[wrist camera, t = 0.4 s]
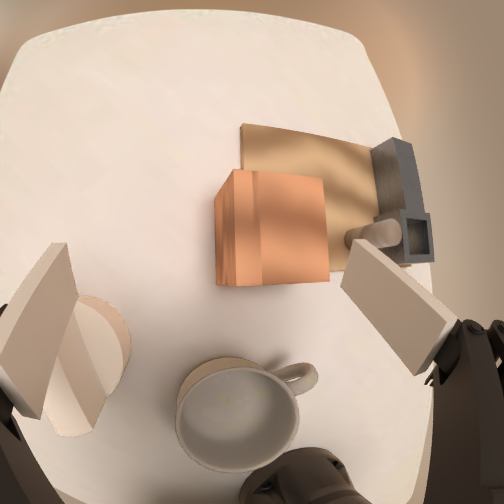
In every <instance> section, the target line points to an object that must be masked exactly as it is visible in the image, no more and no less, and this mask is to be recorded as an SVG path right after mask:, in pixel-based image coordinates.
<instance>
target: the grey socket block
mask: <svg viewBox="0 0 504 504" xmlns="http://www.w3.org/2000/svg"><path fill="white" fill-rule="evenodd" d="M370 155H371V161H372V166H373V172H374V179H375V185H376V192H377V200H378V208H379V215H378V216H375V217H373V219H374V223H376V222H380V221H383V220H387V219H391V218H392V219H395V220H396V221H397V222H398V223H399V225H400V227H401V230H402V238H401V241H400V243H399V244H398V245H395V246H390V247H384V248H378V250H380V251H381V252H382V253H383V254H385V255H386V256H387V257H388V258H390V259H391V260H392V261H393V262H395V263H396V264H397V265H408V264H419V263H429V262H434V248H433V237H432V228H431V219H430V213H425V211H424V204H423V197H422V191H421V186H420V180H419V176H418V171H417V165H416V161H415V156H414V152H413V148H412V144H410V143H407V142H405V141H402V140H400V139H397V138H394V137H392V138H390V139H388V140H387V141H385V142H383V143H382V144H380V145H378V146H376V147H375V148H373V149H371V150H370Z"/></svg>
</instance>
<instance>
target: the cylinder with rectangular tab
mask: <svg viewBox="0 0 504 504" xmlns="http://www.w3.org/2000/svg"><path fill="white" fill-rule="evenodd" d="M130 353H131V338H130V334H129V329H128V327H127V325H126V323H125V321H124V319H123V318H122V316H121V315H120V314H119V313H118V311H117V310H116V309H115V308H114V307H112V306H111V305H110V304H108V303H107V302H105V301H103V300H101V299H98V298H96V297H89V296H83V297H78V300H77V302H76V304H75V307H74V309H73V312H72V315H71V317H70V320H69V322H68V325H67V328H66V331H65V333H64V336H63V339H62V342H61V345H60V348H59V351H58V354H57V357H56V361H55V364H54V367H53V370H52V374H51V378H50V381H49V385H48V389H47V393H46V397H45V401H44V405H43V409H44V411H45V413H46V414H47V416H48V418H49V420H50V422H51V424H52V425H53V427H54V429H55V431H56V432H57V434H58V435H60V436H80V435H83V434H86V433H89V432H91V431H92V430H93V428H94V426H95V424H96V421H97V419H98V416H99V414H100V412H101V410H102V407H103V405H104V403H105V400H106V398H107V396H108V395H110V394H111V393H112V392H113V391H114V390H115V388H116V386H117V385H118V383H119V382H120V379H121V377H122V374H123V372H124V370H125V367H126V365H127V363H128V359H129V356H130Z"/></svg>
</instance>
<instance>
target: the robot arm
mask: <svg viewBox="0 0 504 504" xmlns="http://www.w3.org/2000/svg"><path fill="white" fill-rule="evenodd" d="M340 287H341V288H342V289H343V290H344V291H345V292H346V294H347V295H348V296H349V297H350V298H351V300H352V301H353V302H354V303H355V304H356V305H357V307H358V308H359V309H360V310H361V311H362V313H363V314H364V315H365V316H366V317H367V318H368V320H369V321H370V322H371V323H372V325H373V326H374V327H375V328H376V329H377V331H378V332H379V333H380V334H381V335H382V337H383V338H384V339H385V340H386V342H387V343H388V344H389V345H390V347H391V348H392V349H393V350H394V352H395V353H396V354H397V355H398V357H399V358H400V359H401V360H402V362H403V363H404V364H405V365H406V367H407V368H408V369H409V371H410V372H411V373H412V374H413V376H416V375H418V374H421V373H423V372H425V371H426V370H427V369H428V367H429V366H430V364H431V363H432V361H433V360H434V362H435V363H436V364H437V365H436V366H435V368H434V369H433V371H432V372H431V374H430V375H429V376H428V378H427V379H426V381H425V384H424V385H427V384H428V382H429V381H430V380H431V379H433V381H432V382H431V384H430V386H432V387H433V388H434V409H433V435H432V447H431V457H430V466H429V473H428V480H427V487H426V493H425V498H424V503H423V504H504V322H503V321H500V320H494V321H493V322H492V324H491V326H490V328H489V329H488V330H485V329H484V328H483V327H482V326H481V325H480V324H478V323H477V322H475V321H473V320H468V319H467V320H464V321H463V322H461V321H460V320H459V319H458V318H457V317H456V316H455V315H454V314H453V313H452V312H451V311H450V310H449V309H447V308H446V307H445V306H444V305H443V304H442V303H441V302H440V301H439V300H438V299H437V298H435V297H434V296H433V295H432V294H431V293H430V292H429V291H428V290H426V289H425V288H424V287H423V286H422V285H421V284H420V283H418V282H417V281H416V280H415V279H414V278H413V277H411V276H410V275H409V274H408V273H407V272H405V271H404V270H403V269H402V268H401V267H399V266H398V265H397V264H396V263H395V262H393V261H392V260H391V259H390V258H388V257H387V256H386V255H385V254H383V253H382V252H381V251H380V250H378V249H377V248H376V247H375V246H373V245H372V244H371V243H370V242H368V241H367V240H366V239H353V242H352V246H351V250H350V254H349V257H348V261H347V265H346V268H345V272H344V275H343V279H342V282H341V286H340ZM77 300H78V293H77V289H76V285H75V281H74V277H73V272H72V268H71V263H70V258H69V253H68V248H67V243H52V244H51V245H50V246H49V247H48V249H47V250H46V251H45V252H44V254H43V255H42V256H41V258H40V259H39V260H38V262H37V263H36V264H35V266H34V267H33V268H32V270H31V271H30V272H29V274H28V275H27V277H26V278H25V280H24V281H23V282H22V284H21V285H20V287H19V288H18V290H17V291H16V293H15V294H14V296H13V297H12V299H11V301H10V302H9V304H4V305H3V306H2V307H1V308H0V504H65V503H64V502H63V501H62V499H61V498H60V497H59V495H58V494H57V492H56V491H55V489H54V488H53V486H52V485H51V483H50V482H49V480H48V479H47V477H46V476H45V474H44V472H43V471H42V469H41V467H40V466H39V464H38V462H37V461H36V459H35V457H34V455H33V453H32V452H31V450H30V448H29V446H28V444H27V442H26V440H25V438H24V436H23V434H22V432H21V430H20V428H19V426H18V424H17V421H16V419H15V418H14V416H13V415H12V414H11V413H12V410H13V406H14V407H15V408H16V409H17V410H18V412H19V413H20V414H21V415H22V416H25V417H29V418H34V419H38V420H40V419H41V414H42V409H43V405H44V401H45V397H46V393H47V389H48V385H49V381H50V378H51V374H52V370H53V367H54V364H55V361H56V357H57V354H58V351H59V348H60V345H61V342H62V339H63V336H64V333H65V331H66V328H67V325H68V322H69V320H70V317H71V315H72V312H73V309H74V307H75V304H76V302H77ZM499 357H500V359H501V360H502V363H501V364H500V366H499V367H498V368H497V367H496V361H497V360H498V358H499ZM240 504H372V503H371V502H369V501H368V500H367V499H365V498H364V497H363V496H362V495H360V494H359V493H358V492H357V491H356V490H355V488H354V486H353V484H352V482H351V480H350V477H349V475H348V473H347V471H346V469H345V466H344V465H343V463H342V462H341V461H340V460H339V459H338V458H337V457H335V456H334V455H333V454H332V453H331V452H329V451H327V450H324V449H320V448H303V449H298V450H294V451H290V452H287V453H285V454H282V455H280V456H279V457H278V458H276V459H275V460H274V461H272V462H270V463H269V464H267V465H265V466H263V467H261V468H258V469H257V470H256V471H255V472H254V473H253V474H252V475H251V476H250V477H249V478H248V479H247V480H246V482H245V483H244V485H243V487H242V489H241V492H240Z"/></svg>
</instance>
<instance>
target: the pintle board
mask: <svg viewBox="0 0 504 504" xmlns="http://www.w3.org/2000/svg"><path fill="white" fill-rule="evenodd" d="M371 149H373V148H369V147H365V146H362V145H358V144H354V143H350V142H346V141H341V140H337V139H333V138H328V137H324V136H319V135H314V134H309V133H304V132H298V131H293V130H287V129H281V128H274V127H268V126H260V125H253V124H245V123H243V124H242V126H241V169H242V170H239V169H233V171H232V172H231V174H230V175H229V177H228V178H227V180H226V181H225V183H224V184H223V186H222V187H221V189H220V191H219V192H218V194H217V195H216V197H215V254H216V285H226V286H256V285H277V284H296V283H313V282H329V281H330V275H329V271H341V270H345V268H346V265H347V261H348V257H349V254H350V250H351V246H352V242H353V239H366V240H367V241H368V242H370V243H371V244H372V245H373V246H375V247H376V248H377V249H378V248H384V247H390V246H395V245H398V244H399V243H400V241H401V238H402V230H401V227H400V225H399V223H398V222H397V221H396V220H395V219H392V218H391V219H387V220H383V221H380V222H376V223H374V219H373V217H375V216H378V215H379V208H378V200H377V192H376V185H375V179H374V172H373V166H372V161H371V155H370V150H371ZM398 266H399V267H411V264H408V265H398Z"/></svg>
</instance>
